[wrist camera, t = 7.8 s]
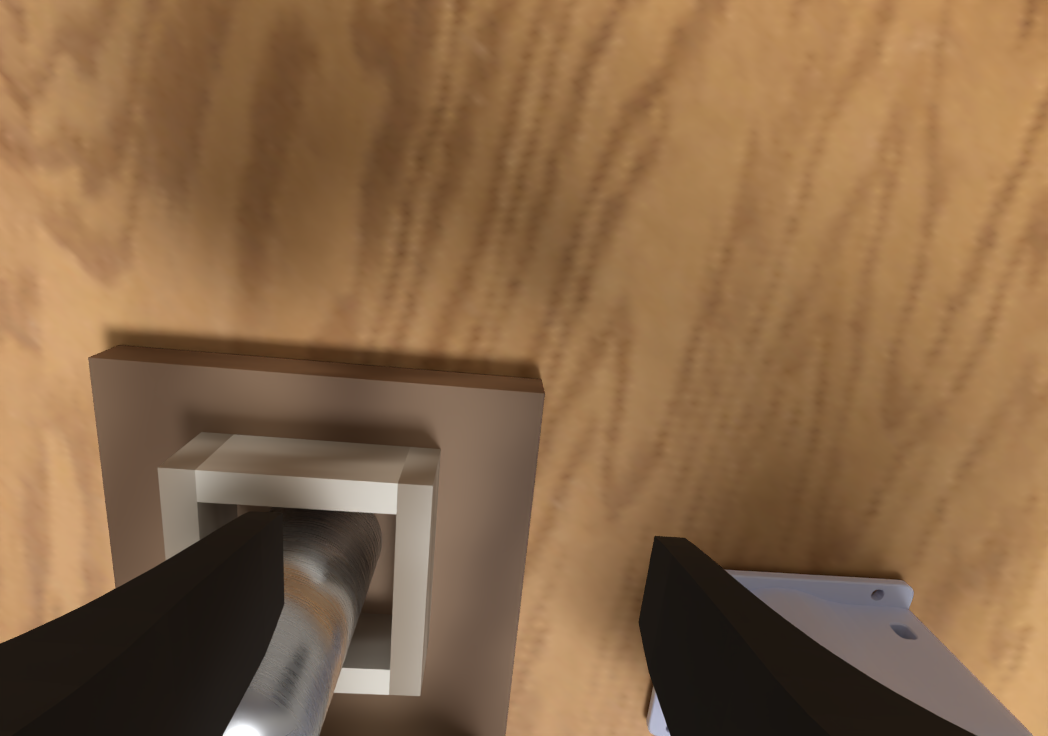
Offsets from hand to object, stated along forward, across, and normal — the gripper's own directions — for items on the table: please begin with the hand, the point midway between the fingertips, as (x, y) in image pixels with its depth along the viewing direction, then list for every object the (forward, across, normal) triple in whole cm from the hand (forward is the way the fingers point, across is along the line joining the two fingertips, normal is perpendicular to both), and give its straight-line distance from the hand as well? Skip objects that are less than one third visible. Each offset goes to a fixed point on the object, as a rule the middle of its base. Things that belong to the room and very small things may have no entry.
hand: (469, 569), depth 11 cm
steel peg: (+8, +5, +5) cm, 11 cm away
